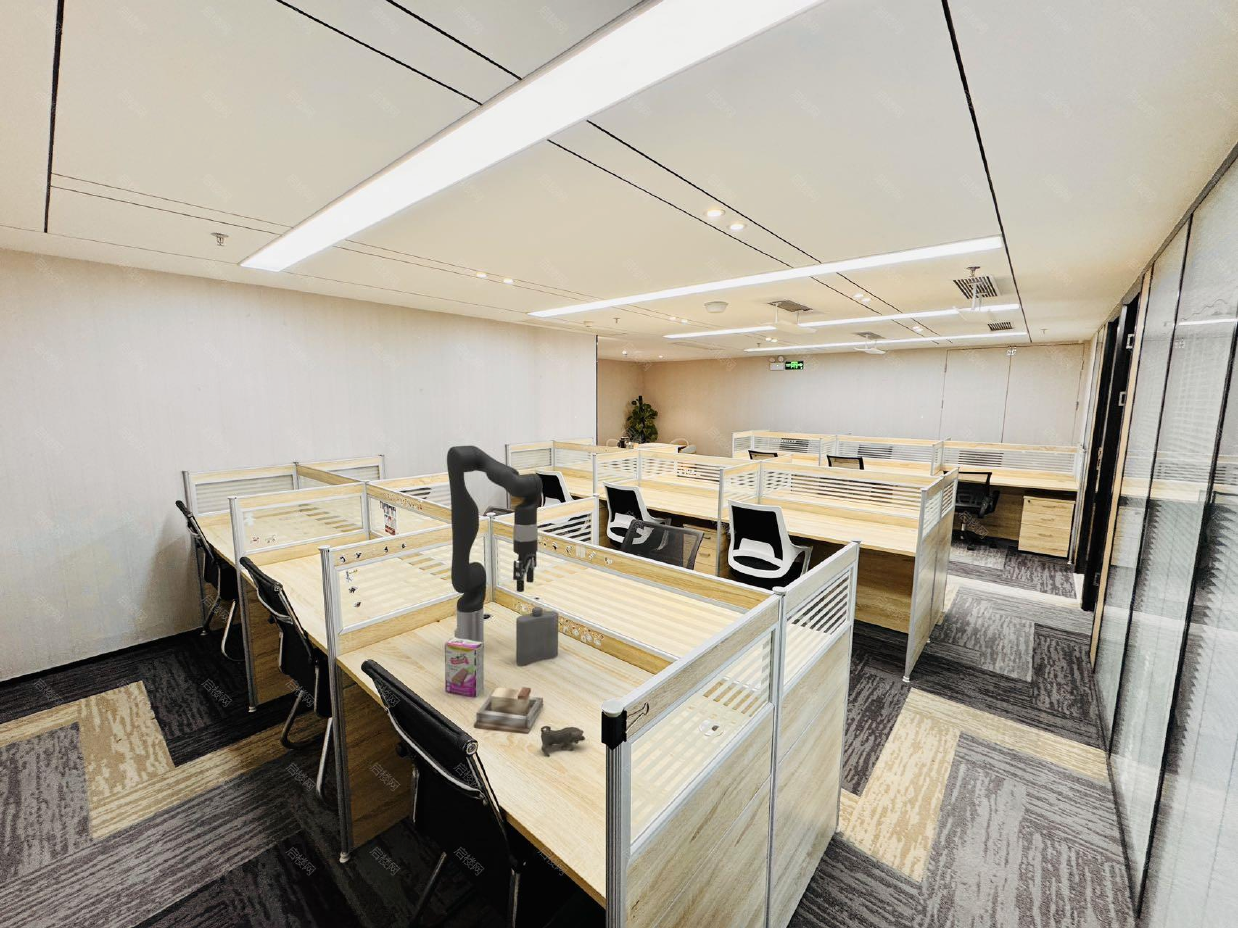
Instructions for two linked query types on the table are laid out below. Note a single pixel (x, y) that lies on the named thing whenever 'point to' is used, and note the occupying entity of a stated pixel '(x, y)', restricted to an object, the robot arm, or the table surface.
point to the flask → (536, 636)
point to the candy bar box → (464, 667)
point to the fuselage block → (511, 701)
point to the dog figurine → (560, 738)
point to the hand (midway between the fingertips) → (525, 586)
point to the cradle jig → (508, 717)
